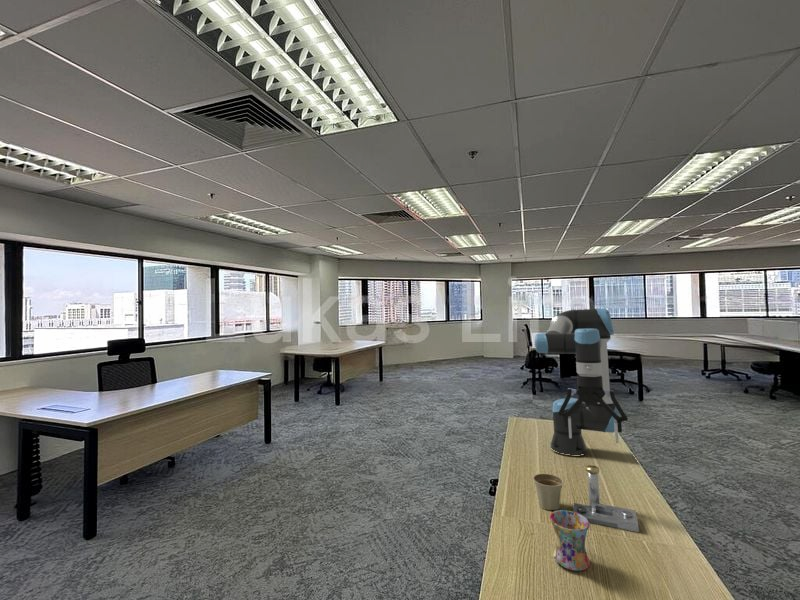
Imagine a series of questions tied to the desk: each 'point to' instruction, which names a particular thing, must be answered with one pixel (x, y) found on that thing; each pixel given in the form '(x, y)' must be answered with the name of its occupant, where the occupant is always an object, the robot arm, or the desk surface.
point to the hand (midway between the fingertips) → (593, 439)
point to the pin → (593, 484)
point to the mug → (570, 539)
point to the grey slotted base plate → (609, 516)
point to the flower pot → (548, 490)
